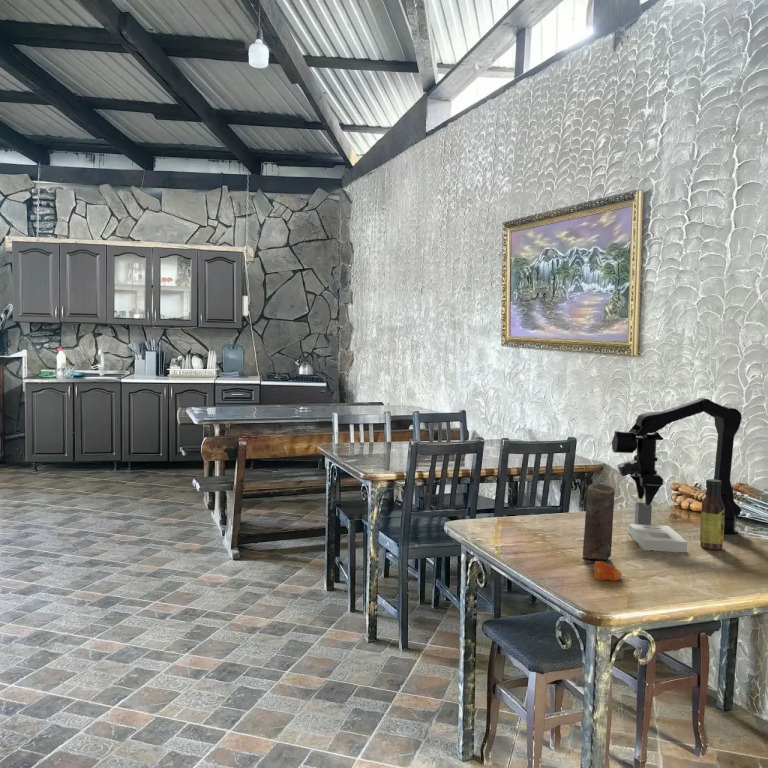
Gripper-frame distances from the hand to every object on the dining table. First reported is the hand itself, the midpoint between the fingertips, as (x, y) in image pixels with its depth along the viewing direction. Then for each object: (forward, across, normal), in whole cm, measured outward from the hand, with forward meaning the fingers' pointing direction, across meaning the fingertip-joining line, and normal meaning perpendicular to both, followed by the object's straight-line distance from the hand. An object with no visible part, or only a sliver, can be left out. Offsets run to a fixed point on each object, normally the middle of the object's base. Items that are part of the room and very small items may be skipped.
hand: (644, 501), depth 225 cm
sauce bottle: (+9, +18, +15) cm, 25 cm away
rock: (+10, +52, -22) cm, 57 cm away
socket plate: (+9, +16, 0) cm, 18 cm away
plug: (+9, 0, 0) cm, 9 cm away
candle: (+9, +36, -21) cm, 43 cm away
